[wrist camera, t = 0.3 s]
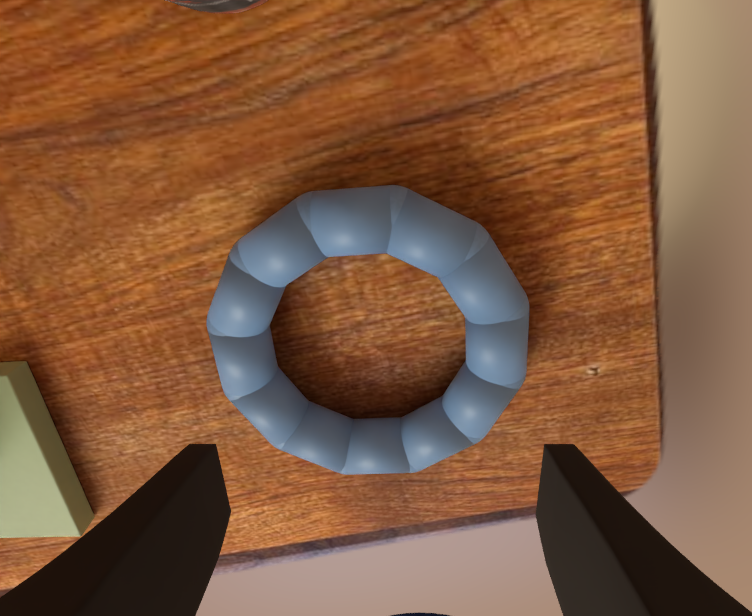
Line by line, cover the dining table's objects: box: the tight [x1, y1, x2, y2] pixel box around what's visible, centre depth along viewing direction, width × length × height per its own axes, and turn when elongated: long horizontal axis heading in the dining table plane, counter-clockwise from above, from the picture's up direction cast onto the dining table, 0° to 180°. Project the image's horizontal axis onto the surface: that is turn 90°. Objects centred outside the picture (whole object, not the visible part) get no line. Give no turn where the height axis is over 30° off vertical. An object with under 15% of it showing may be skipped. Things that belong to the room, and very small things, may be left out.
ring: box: [207, 185, 529, 475], centre depth 19 cm, size 12×12×2 cm
